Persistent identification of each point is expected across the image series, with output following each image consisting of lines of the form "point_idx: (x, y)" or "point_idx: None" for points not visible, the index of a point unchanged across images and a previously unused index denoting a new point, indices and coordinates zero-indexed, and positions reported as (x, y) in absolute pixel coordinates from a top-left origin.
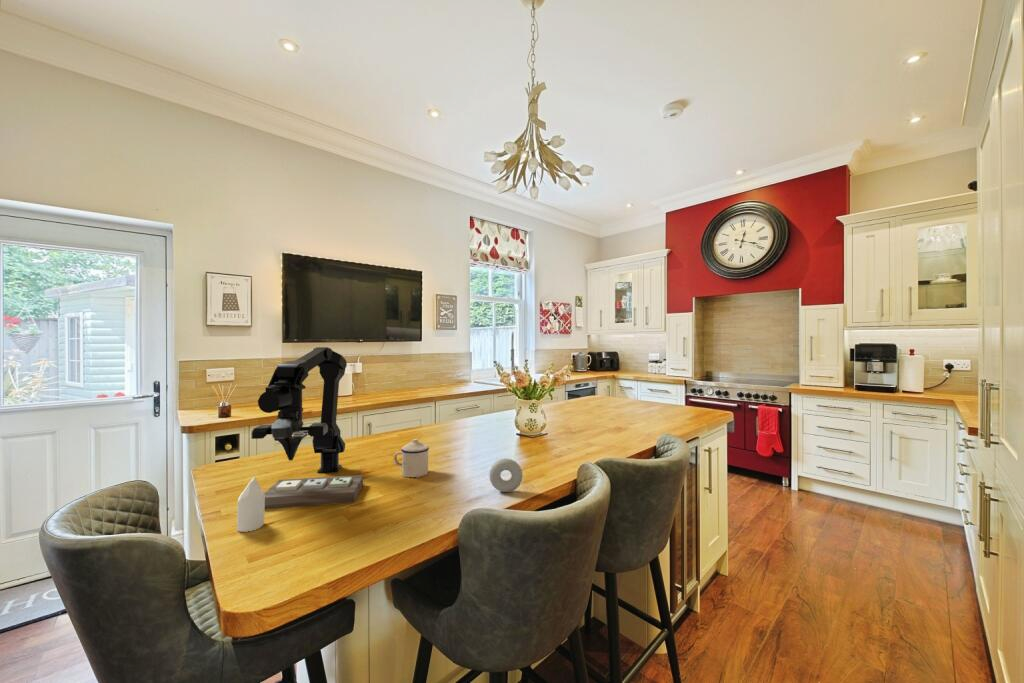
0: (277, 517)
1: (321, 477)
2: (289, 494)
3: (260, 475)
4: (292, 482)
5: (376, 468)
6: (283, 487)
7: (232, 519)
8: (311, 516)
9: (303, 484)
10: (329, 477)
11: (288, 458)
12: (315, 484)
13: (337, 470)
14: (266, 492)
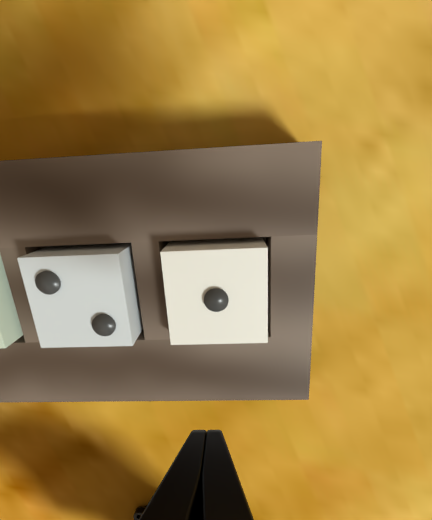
0: (170, 24)
1: (109, 398)
2: (164, 175)
3: (427, 517)
4: (203, 314)
5: (2, 516)
6: (225, 249)
7: (388, 24)
8: (7, 16)
9: (156, 318)
10: (71, 394)
11: (223, 446)
12: (56, 264)
13: (134, 513)
14: (308, 224)
